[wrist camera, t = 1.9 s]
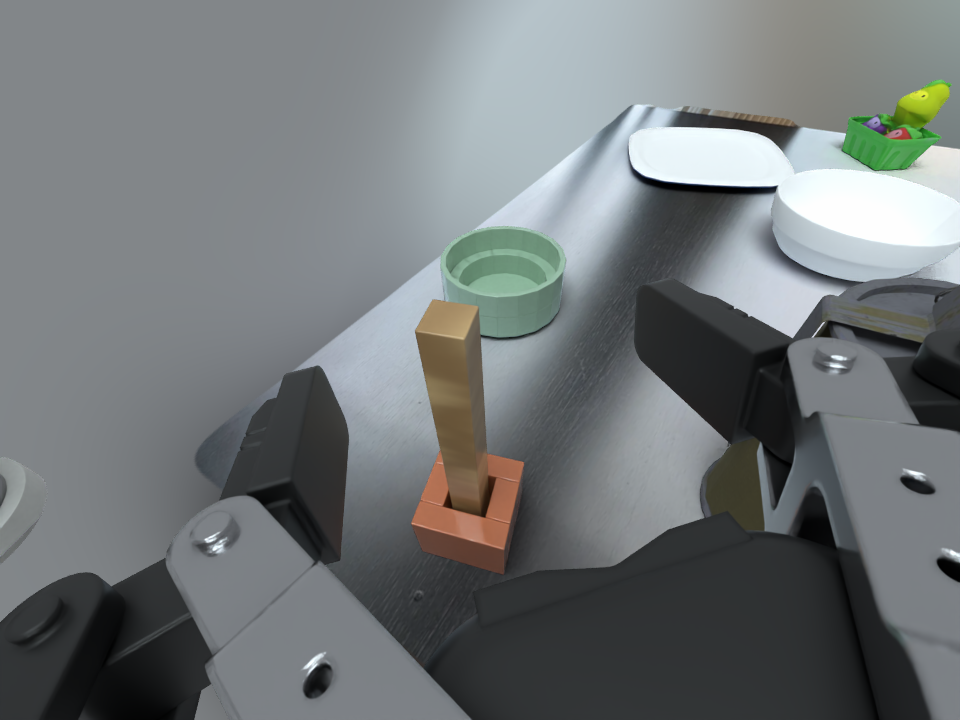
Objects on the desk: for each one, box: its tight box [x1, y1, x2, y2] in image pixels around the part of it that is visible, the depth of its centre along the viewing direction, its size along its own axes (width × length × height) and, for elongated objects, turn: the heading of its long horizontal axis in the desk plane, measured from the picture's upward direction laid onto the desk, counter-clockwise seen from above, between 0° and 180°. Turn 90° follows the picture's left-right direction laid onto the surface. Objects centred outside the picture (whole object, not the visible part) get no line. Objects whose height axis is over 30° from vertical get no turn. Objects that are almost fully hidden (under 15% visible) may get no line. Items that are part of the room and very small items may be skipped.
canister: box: [700, 278, 960, 531], centre depth 23 cm, size 11×10×20 cm
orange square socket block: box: [411, 451, 524, 575], centre depth 29 cm, size 6×6×5 cm
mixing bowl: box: [440, 226, 566, 337], centre depth 46 cm, size 13×13×6 cm
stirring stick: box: [415, 300, 490, 518], centre depth 23 cm, size 2×2×20 cm
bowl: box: [771, 169, 960, 282], centre depth 48 cm, size 18×18×7 cm
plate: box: [629, 127, 795, 188], centre depth 71 cm, size 25×25×2 cm
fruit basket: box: [842, 80, 951, 170], centre depth 66 cm, size 11×9×11 cm
